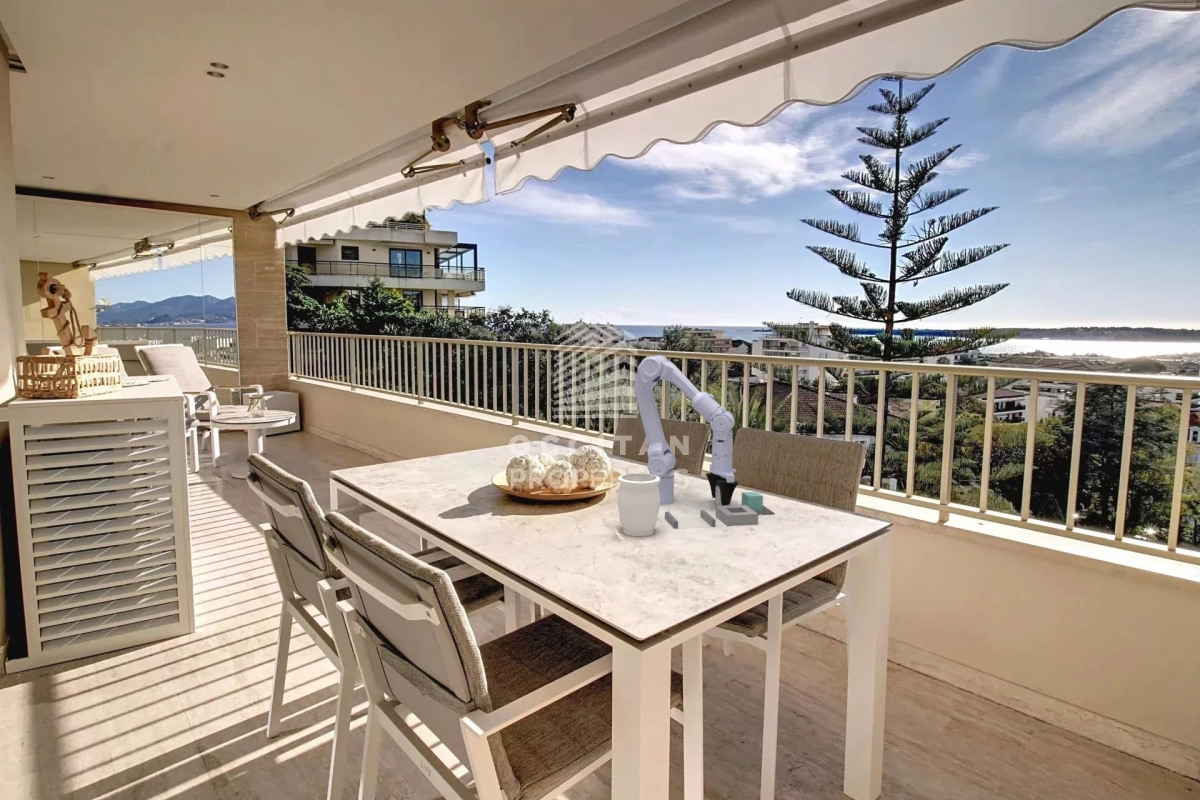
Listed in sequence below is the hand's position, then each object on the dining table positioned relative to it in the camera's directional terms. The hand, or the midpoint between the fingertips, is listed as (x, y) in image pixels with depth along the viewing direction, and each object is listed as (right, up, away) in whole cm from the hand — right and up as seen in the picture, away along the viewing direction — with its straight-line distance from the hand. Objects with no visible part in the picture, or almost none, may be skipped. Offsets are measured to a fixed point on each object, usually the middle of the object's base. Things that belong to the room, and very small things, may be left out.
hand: (720, 501), depth 181 cm
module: (+9, -3, +2) cm, 10 cm away
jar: (-25, -6, -21) cm, 33 cm away
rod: (0, -3, 0) cm, 3 cm away
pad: (+10, -3, +2) cm, 10 cm away
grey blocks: (-5, -5, -13) cm, 14 cm away
